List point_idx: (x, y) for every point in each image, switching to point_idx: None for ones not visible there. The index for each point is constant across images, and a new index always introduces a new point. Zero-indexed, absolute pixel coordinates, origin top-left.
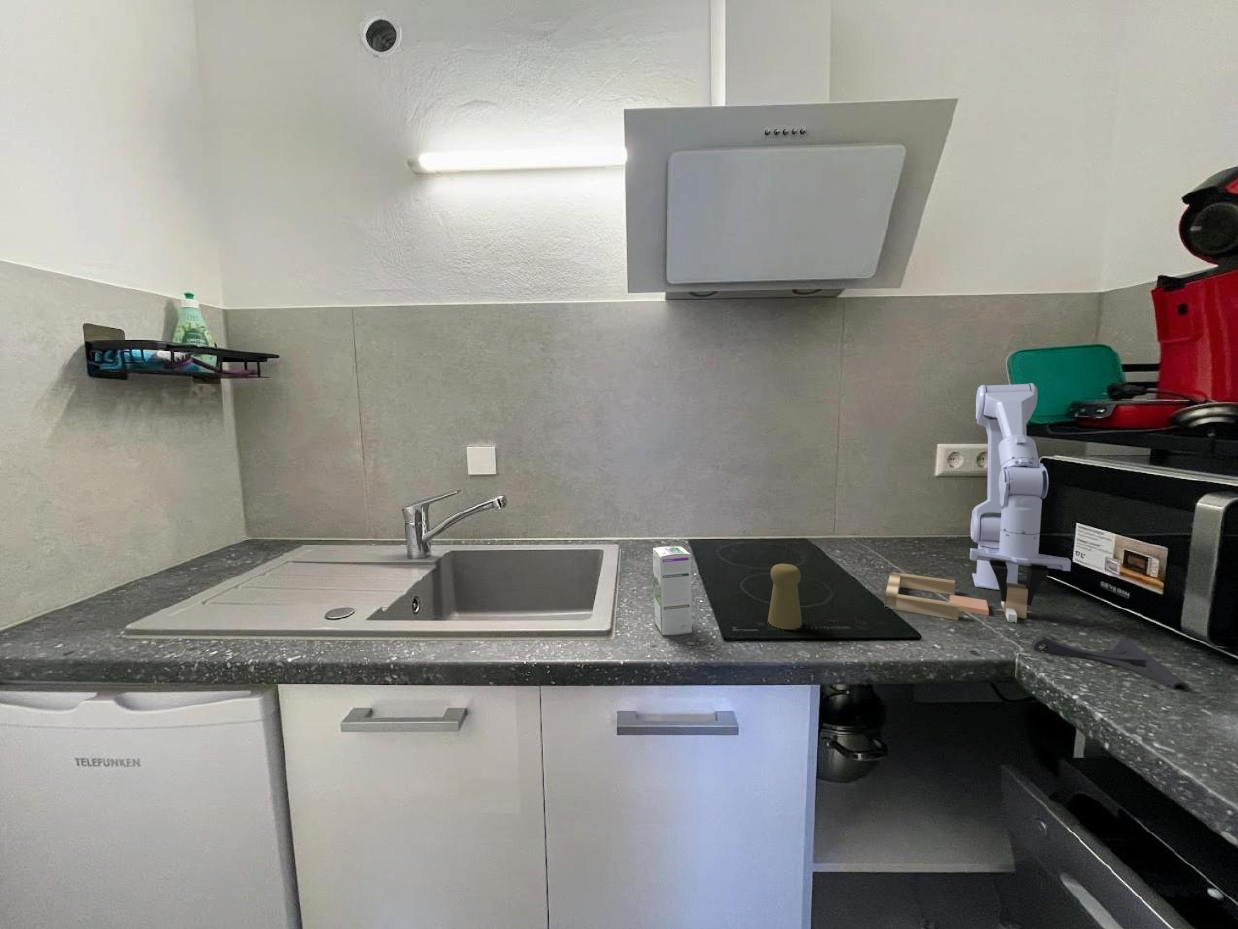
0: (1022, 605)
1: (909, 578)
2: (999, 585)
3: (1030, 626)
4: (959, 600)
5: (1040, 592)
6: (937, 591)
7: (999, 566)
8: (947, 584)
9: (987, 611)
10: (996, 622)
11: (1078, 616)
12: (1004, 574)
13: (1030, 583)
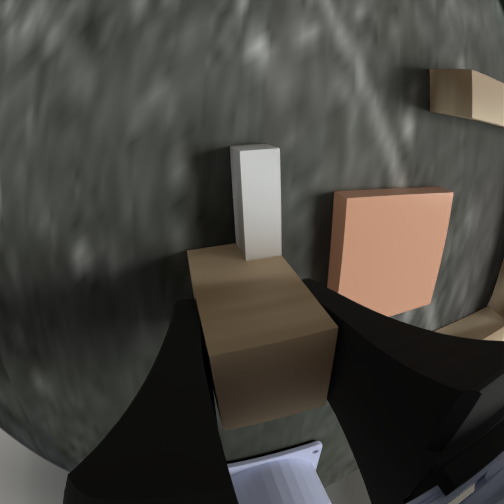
0: (214, 281)
1: (495, 328)
2: (381, 316)
3: (170, 142)
4: (420, 261)
5: None
6: None
7: (487, 410)
8: None
9: (348, 196)
10: (312, 109)
11: (44, 387)
12: (432, 365)
13: (204, 394)
